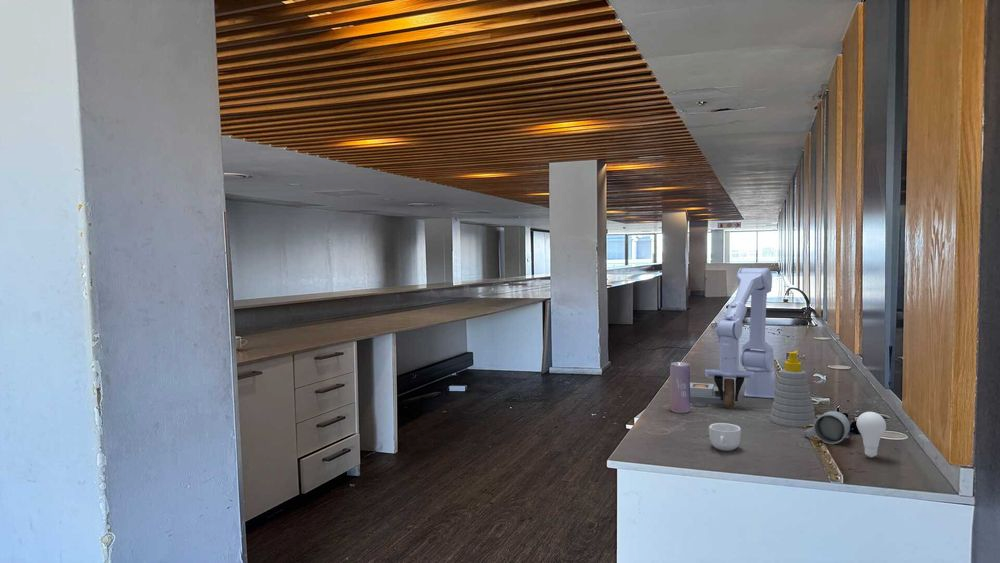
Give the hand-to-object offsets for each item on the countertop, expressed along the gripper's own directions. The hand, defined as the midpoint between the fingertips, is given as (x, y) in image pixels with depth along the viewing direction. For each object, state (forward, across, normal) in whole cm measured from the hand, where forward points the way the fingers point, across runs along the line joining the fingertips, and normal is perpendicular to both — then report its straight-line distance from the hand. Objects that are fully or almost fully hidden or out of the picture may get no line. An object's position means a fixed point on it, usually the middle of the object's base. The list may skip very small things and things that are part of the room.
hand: (729, 399), depth 200 cm
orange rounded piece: (-1, -10, +9) cm, 13 cm away
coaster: (+2, -9, 0) cm, 9 cm away
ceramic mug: (+3, +26, -27) cm, 38 cm away
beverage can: (+3, -14, -10) cm, 17 cm away
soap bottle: (+3, +18, -12) cm, 22 cm away
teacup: (+3, +1, -44) cm, 45 cm away
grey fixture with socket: (+2, -7, +8) cm, 11 cm away
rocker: (-1, -3, +8) cm, 9 cm away
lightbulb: (+3, +34, -40) cm, 52 cm away
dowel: (+2, 0, 0) cm, 2 cm away
